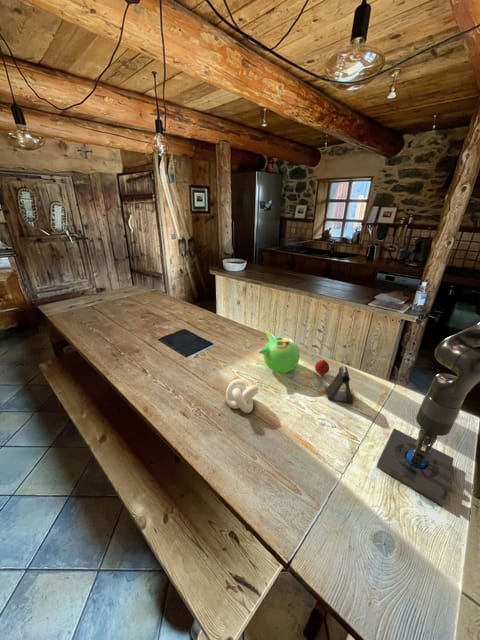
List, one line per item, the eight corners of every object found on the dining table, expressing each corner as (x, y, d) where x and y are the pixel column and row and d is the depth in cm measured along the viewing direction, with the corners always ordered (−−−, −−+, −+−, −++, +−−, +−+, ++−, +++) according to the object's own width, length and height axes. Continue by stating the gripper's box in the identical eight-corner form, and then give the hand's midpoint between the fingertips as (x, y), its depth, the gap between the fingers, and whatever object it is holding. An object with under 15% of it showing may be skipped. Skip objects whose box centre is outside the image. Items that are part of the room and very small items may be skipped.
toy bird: (296, 382, 111) (300, 352, 104) (256, 375, 114) (258, 346, 108) (299, 359, 126) (302, 331, 120) (264, 353, 130) (265, 327, 124)
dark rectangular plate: (391, 433, 88) (393, 428, 87) (450, 463, 78) (453, 458, 77) (376, 466, 77) (378, 460, 76) (442, 506, 67) (445, 500, 66)
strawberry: (311, 371, 118) (314, 355, 114) (323, 369, 119) (326, 354, 115) (317, 379, 113) (320, 363, 109) (330, 377, 114) (333, 362, 110)
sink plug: (415, 457, 80) (424, 437, 76) (427, 472, 76) (437, 451, 72) (400, 458, 79) (408, 438, 76) (411, 473, 75) (420, 453, 71)
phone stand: (350, 393, 105) (356, 368, 100) (352, 403, 100) (359, 377, 95) (326, 389, 107) (331, 364, 102) (327, 399, 102) (333, 374, 97)
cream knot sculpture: (218, 409, 96) (218, 390, 92) (234, 390, 106) (234, 371, 102) (247, 420, 92) (248, 401, 88) (260, 399, 101) (261, 380, 97)
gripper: (452, 437, 61) (428, 483, 69) (459, 404, 71) (437, 447, 78) (415, 419, 66) (396, 465, 73) (426, 391, 76) (409, 433, 83)
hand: (417, 455), depth 76 cm, fingers open, 5 cm apart
